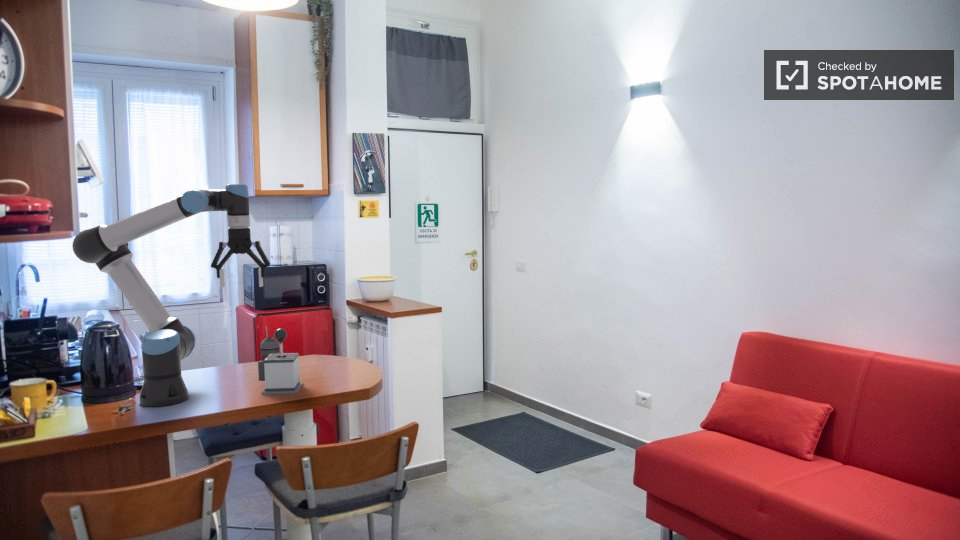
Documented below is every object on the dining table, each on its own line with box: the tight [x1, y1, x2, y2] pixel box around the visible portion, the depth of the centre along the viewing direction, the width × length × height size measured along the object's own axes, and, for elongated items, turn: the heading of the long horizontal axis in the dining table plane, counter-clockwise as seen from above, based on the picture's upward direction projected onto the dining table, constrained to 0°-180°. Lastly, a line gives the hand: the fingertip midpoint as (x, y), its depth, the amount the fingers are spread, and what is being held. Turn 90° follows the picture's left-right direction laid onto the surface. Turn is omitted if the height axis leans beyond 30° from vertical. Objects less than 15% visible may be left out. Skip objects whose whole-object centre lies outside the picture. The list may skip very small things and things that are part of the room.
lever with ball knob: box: [273, 327, 288, 358], centre depth 244 cm, size 8×8×20 cm
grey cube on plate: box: [257, 352, 304, 396], centre depth 245 cm, size 14×12×12 cm
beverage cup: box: [259, 325, 280, 361], centre depth 261 cm, size 7×7×20 cm
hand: (241, 287), depth 245 cm, fingers open, 13 cm apart
